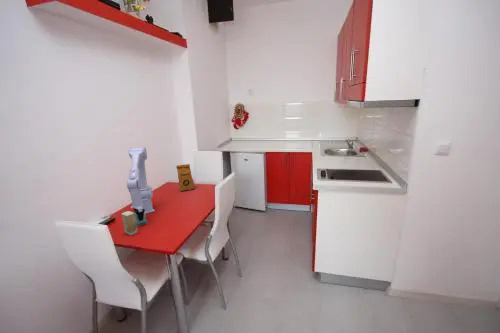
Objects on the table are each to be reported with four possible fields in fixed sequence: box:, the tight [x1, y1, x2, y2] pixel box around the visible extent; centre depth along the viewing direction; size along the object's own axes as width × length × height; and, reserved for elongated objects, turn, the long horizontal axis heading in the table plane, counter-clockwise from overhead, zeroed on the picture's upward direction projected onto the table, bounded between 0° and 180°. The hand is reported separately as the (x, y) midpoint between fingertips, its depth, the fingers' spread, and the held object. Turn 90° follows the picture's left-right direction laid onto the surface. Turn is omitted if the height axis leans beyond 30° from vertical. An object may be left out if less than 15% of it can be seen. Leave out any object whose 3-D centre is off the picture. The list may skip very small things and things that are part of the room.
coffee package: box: [175, 163, 195, 192], centre depth 203 cm, size 10×12×22 cm
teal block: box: [134, 213, 147, 224], centre depth 149 cm, size 5×5×5 cm
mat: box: [136, 219, 149, 227], centre depth 150 cm, size 7×7×1 cm
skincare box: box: [121, 210, 138, 236], centre depth 137 cm, size 6×4×12 cm
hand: (140, 218), depth 149 cm, fingers open, 5 cm apart
